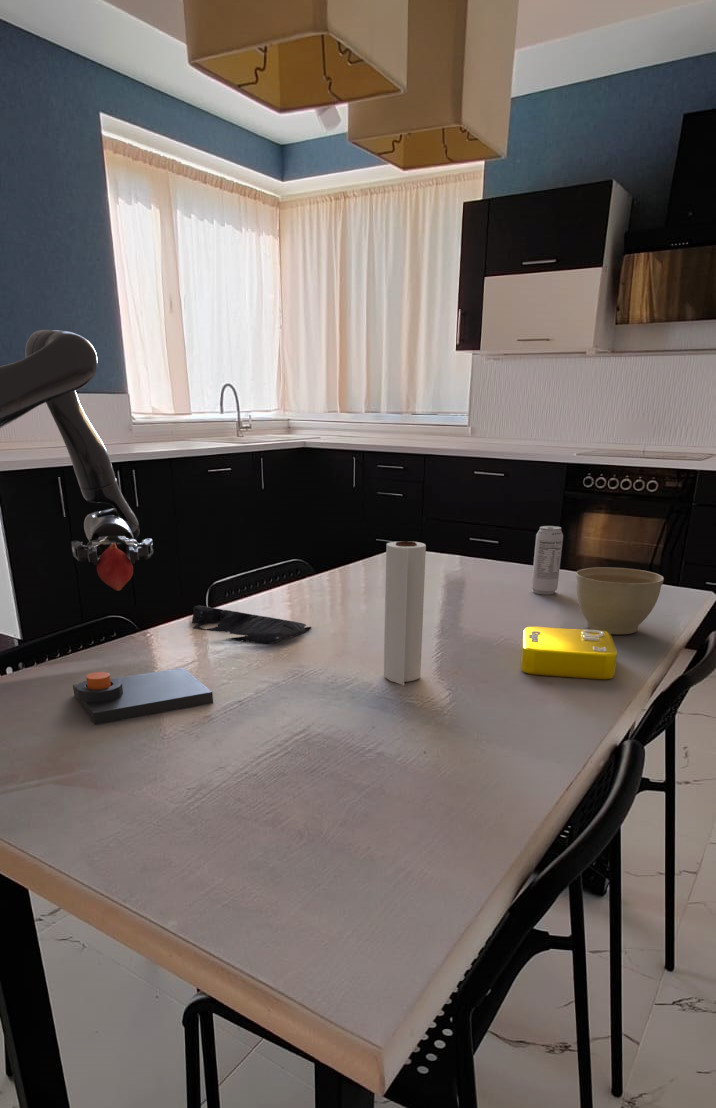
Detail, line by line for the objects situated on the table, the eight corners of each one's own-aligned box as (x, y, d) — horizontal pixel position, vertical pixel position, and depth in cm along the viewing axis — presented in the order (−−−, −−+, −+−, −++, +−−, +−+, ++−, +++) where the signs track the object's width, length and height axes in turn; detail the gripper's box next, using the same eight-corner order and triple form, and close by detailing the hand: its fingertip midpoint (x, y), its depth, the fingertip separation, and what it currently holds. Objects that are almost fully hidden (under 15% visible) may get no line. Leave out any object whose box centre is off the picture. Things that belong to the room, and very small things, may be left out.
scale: (91, 726, 105) (87, 702, 103) (70, 697, 115) (67, 675, 113) (213, 704, 113) (211, 681, 111) (184, 678, 123) (182, 657, 122)
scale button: (90, 692, 108) (88, 680, 107) (85, 685, 110) (83, 673, 110) (113, 688, 109) (112, 676, 109) (107, 681, 112) (106, 670, 111)
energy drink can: (556, 590, 184) (563, 526, 178) (556, 595, 179) (564, 529, 173) (531, 588, 185) (537, 525, 180) (530, 594, 180) (536, 528, 174)
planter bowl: (672, 632, 151) (681, 577, 146) (618, 645, 142) (627, 587, 138) (605, 615, 163) (612, 563, 158) (552, 626, 154) (558, 571, 150)
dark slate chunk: (275, 651, 137) (274, 625, 135) (177, 635, 146) (175, 610, 144) (318, 631, 149) (317, 607, 148) (224, 617, 158) (223, 594, 156)
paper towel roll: (396, 668, 129) (400, 538, 120) (427, 675, 126) (433, 542, 117) (371, 679, 123) (374, 544, 115) (403, 687, 120) (408, 548, 112)
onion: (92, 592, 130) (86, 544, 126) (114, 585, 134) (108, 538, 131) (120, 595, 128) (115, 546, 124) (142, 588, 132) (137, 541, 129)
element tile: (521, 648, 140) (524, 622, 138) (607, 654, 137) (610, 628, 135) (520, 674, 126) (523, 646, 125) (615, 681, 124) (619, 652, 122)
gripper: (68, 520, 138) (64, 535, 123) (151, 518, 142) (156, 533, 127) (74, 562, 141) (70, 582, 126) (154, 559, 145) (160, 578, 130)
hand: (113, 557), depth 126 cm, fingers closed on onion, 5 cm apart
